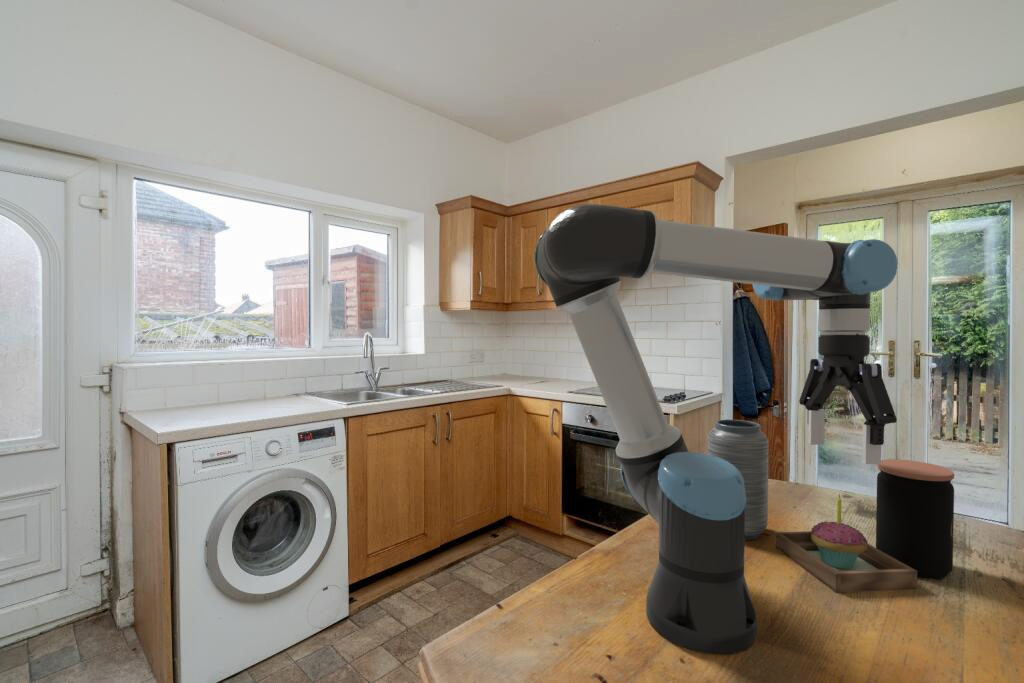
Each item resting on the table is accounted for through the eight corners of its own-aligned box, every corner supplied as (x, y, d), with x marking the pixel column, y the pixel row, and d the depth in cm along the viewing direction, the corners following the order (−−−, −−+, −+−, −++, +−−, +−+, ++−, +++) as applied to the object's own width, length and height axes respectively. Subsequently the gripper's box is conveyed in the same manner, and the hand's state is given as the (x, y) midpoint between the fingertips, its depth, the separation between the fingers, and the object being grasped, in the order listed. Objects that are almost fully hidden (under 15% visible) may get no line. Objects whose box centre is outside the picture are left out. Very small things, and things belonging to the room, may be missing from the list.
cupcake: (811, 548, 93) (812, 486, 92) (866, 559, 88) (867, 495, 88) (809, 566, 86) (810, 499, 85) (869, 580, 81) (870, 509, 81)
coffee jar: (968, 584, 80) (971, 477, 80) (895, 578, 82) (897, 474, 82) (927, 555, 91) (929, 460, 90) (863, 550, 93) (865, 457, 92)
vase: (737, 517, 109) (738, 416, 108) (780, 538, 98) (782, 426, 97) (695, 524, 105) (696, 420, 105) (735, 546, 94) (736, 430, 94)
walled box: (835, 592, 78) (835, 573, 78) (775, 547, 94) (775, 532, 94) (916, 589, 79) (917, 571, 79) (843, 545, 95) (843, 530, 95)
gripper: (927, 334, 73) (924, 473, 74) (815, 332, 98) (814, 437, 98) (880, 334, 73) (878, 474, 73) (780, 333, 97) (779, 437, 98)
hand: (841, 453), depth 86 cm, fingers open, 12 cm apart
